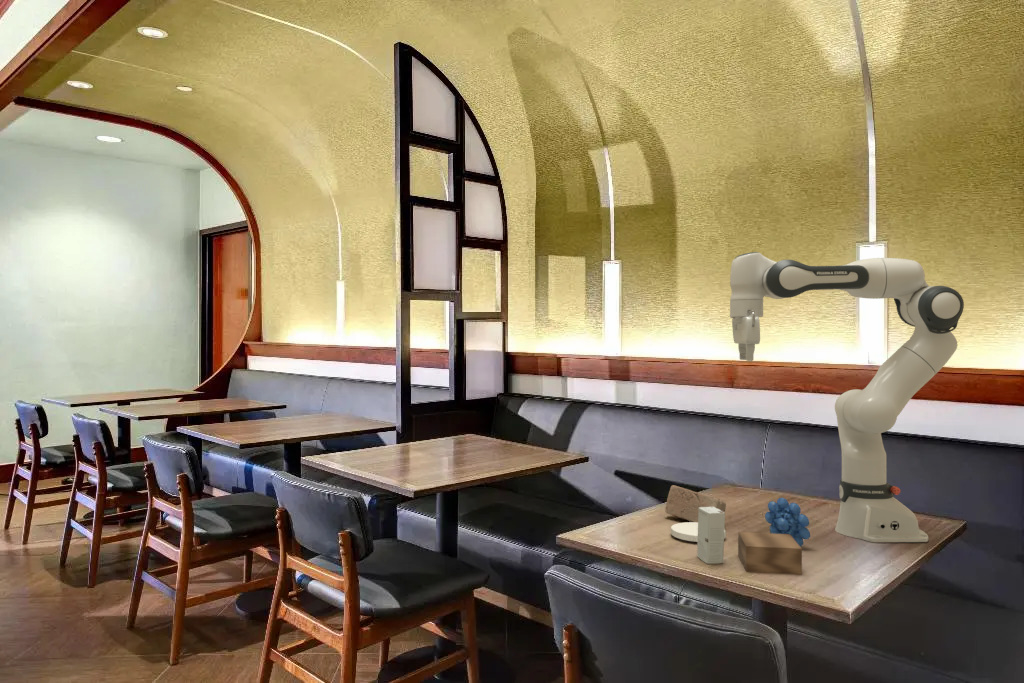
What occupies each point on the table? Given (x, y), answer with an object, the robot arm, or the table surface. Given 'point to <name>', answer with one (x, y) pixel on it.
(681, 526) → the plastic lid
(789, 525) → the grapes
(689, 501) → the brick
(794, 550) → the walnut block
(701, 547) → the skincare box
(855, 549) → the table surface
